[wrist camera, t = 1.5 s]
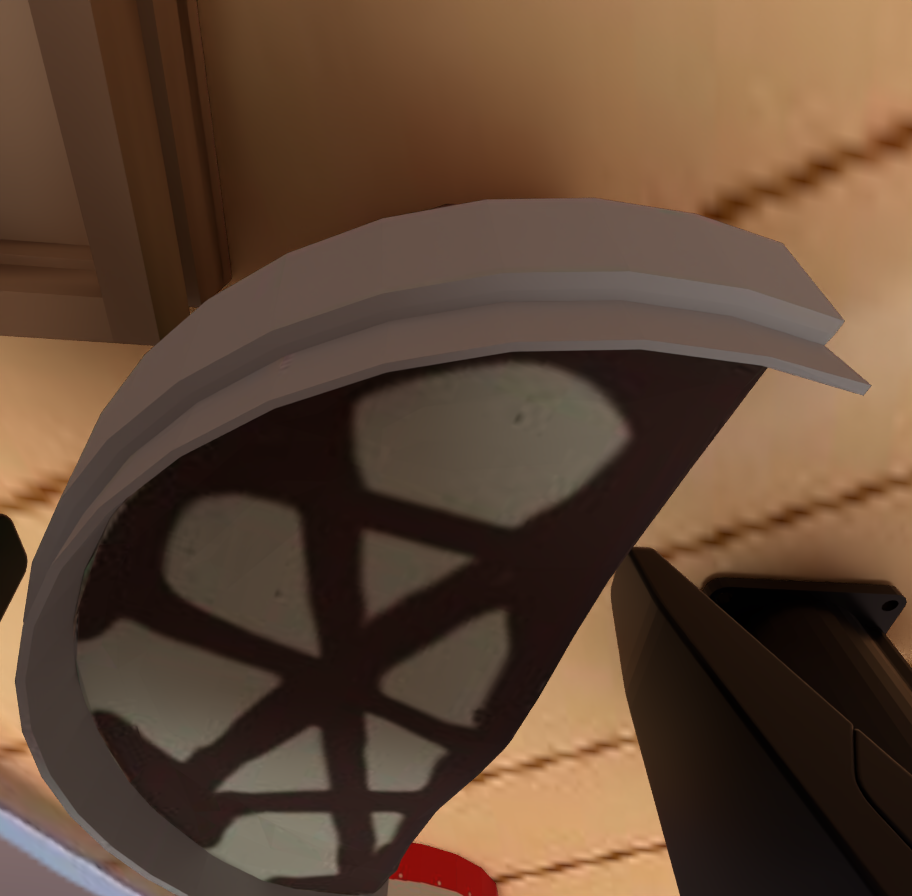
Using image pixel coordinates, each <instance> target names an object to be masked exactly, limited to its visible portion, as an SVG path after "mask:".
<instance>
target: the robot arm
mask: <svg viewBox="0 0 912 896" xmlns="http://www.w3.org/2000/svg"><path fill="white" fill-rule="evenodd" d="M26 568H27V555H26V552H25V550H24V547H23V545H22V543H21V540H20V538H19V535H18V533H17V531H16V528H15V526H14V524H13V522H12V520H11V519H10V518H9V517H8V516H7V515H4V514H0V621H1V619H2V618H3V616H4V614H5V612H6V610H7V608H8V606H9V604H10V602H11V600H12V598H13V596H14V594H15V592H16V590H17V588H18V586H19V584H20V582H21V580H22V578H23V576H24V574H25V572H26ZM721 593H722V594H721ZM611 603H612V610H613V616H614V623H615V630H616V636H617V643H618V649H619V656H620V662H621V669H622V675H623V681H624V687H625V692H626V697H627V701H628V705H629V709H630V713H631V717H632V720H633V724H634V728H635V732H636V735H637V739H638V743H639V746H640V750H641V754H642V757H643V761H644V765H645V768H646V772H647V776H648V779H649V783H650V787H651V790H652V794H653V798H654V801H655V805H656V809H657V812H658V816H659V820H660V823H661V827H662V831H663V835H664V838H665V842H666V846H667V849H668V853H669V857H670V860H671V864H672V868H673V871H674V875H675V879H676V882H677V886H678V890H679V893H680V896H912V668H911V667H910V665H909V664H908V663H907V661H906V660H905V659H904V658H903V656H902V655H901V654H900V653H899V651H898V650H897V649H896V647H895V646H894V645H893V644H892V642H891V641H890V640H889V639H888V637H887V636H886V635H885V634H886V633H887V631H888V630H889V628H890V627H891V626H892V624H893V623H894V621H895V620H896V618H897V617H898V616H899V614H900V613H901V611H902V610H903V608H904V607H905V605H906V603H907V601H906V598H905V597H904V596H903V595H902V593H901V592H900V591H899V590H898V589H897V588H896V587H894V586H889V585H868V584H847V583H827V582H806V581H785V580H764V579H744V578H717V579H714V580H712V581H710V582H709V583H708V584H707V585H706V586H705V588H704V590H703V592H702V591H701V590H700V589H699V588H697V587H696V586H695V585H694V584H693V583H692V582H691V581H689V580H688V579H687V578H686V577H685V576H684V575H683V574H682V573H680V572H679V571H678V570H677V569H676V568H675V567H674V566H672V565H671V564H670V563H669V562H668V561H667V560H666V559H664V558H663V557H662V556H661V555H660V554H659V553H658V552H657V551H655V550H654V549H652V548H648V547H633V548H632V549H631V550H630V552H629V553H628V555H627V556H626V557H625V559H624V560H623V561H622V563H621V564H620V565H619V567H618V568H617V569H616V572H615V576H614V579H613V582H612V586H611Z"/></svg>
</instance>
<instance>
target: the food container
mask: <svg viewBox="0 0 912 896" xmlns="http://www.w3.org/2000/svg"><path fill="white" fill-rule="evenodd" d="M843 323H844V319H843V318H842V317H841V316H840V314H839V313H838V312H837V311H836V309H835V308H834V307H833V306H832V304H831V303H830V302H829V301H828V299H827V298H826V297H825V296H824V294H823V293H822V292H821V291H820V289H819V288H818V287H817V286H816V284H815V283H814V282H813V281H812V279H811V278H810V277H809V276H808V274H807V273H806V272H805V271H804V269H803V268H802V267H801V266H800V264H799V263H798V262H797V261H796V259H795V258H794V257H793V256H792V254H791V253H790V252H789V251H788V249H787V248H786V247H785V246H784V244H783V243H780V242H778V241H775V240H772V239H769V238H766V237H763V236H760V235H757V234H754V233H751V232H748V231H745V230H742V229H739V228H736V227H733V226H730V225H727V224H724V223H721V222H719V221H716V220H713V219H710V218H707V217H704V216H701V215H698V214H694V213H688V212H681V211H675V210H668V209H662V208H656V207H649V206H643V205H636V204H630V203H624V202H617V201H611V200H604V199H598V198H547V199H486V200H481V201H475V202H470V203H464V204H445V205H442V206H439V207H436V208H433V209H430V210H426V211H420V212H415V213H409V214H404V215H399V216H393V217H388V218H382V219H379V220H377V221H374V222H371V223H368V224H366V225H363V226H360V227H358V228H355V229H352V230H349V231H347V232H344V233H341V234H338V235H336V236H333V237H330V238H327V239H325V240H322V241H319V242H317V243H314V244H311V245H308V246H306V247H303V248H300V249H297V250H295V251H292V252H289V253H287V254H285V255H283V256H282V257H280V258H278V259H276V260H275V261H273V262H271V263H270V264H268V265H266V266H264V267H263V268H261V269H259V270H258V271H256V272H254V273H252V274H251V275H249V276H247V277H246V278H244V279H242V280H240V281H239V282H237V283H235V284H234V285H232V286H230V287H228V288H227V289H225V290H223V291H222V292H220V293H218V294H216V295H215V296H213V297H211V298H210V299H208V300H207V301H205V302H204V303H203V304H202V305H201V306H200V307H199V308H197V309H196V310H195V311H194V312H193V313H192V314H191V315H189V316H188V317H187V318H186V319H185V320H184V321H183V322H181V323H180V324H179V325H178V326H177V327H176V328H175V329H173V330H172V331H171V332H170V333H169V334H168V335H167V336H165V337H164V338H163V339H162V340H161V341H160V342H159V343H157V344H156V345H155V346H154V347H153V348H152V349H151V350H149V351H148V352H147V353H146V354H145V355H144V356H143V358H142V359H141V360H140V362H139V363H138V364H137V366H136V367H135V368H134V370H133V371H132V372H131V374H130V375H129V376H128V378H127V379H126V380H125V382H124V383H123V384H122V386H121V387H120V388H119V390H118V391H117V393H116V394H115V395H114V397H113V398H112V399H111V401H110V402H109V403H108V405H107V406H106V407H105V409H104V410H103V411H102V413H101V414H100V417H99V419H98V421H97V423H96V425H95V427H94V429H93V431H92V433H91V435H90V438H89V440H88V442H87V444H86V446H85V448H84V450H83V452H82V454H81V456H80V459H79V461H78V463H77V465H76V467H75V469H74V471H73V473H72V475H71V477H70V479H69V482H68V484H67V486H66V488H65V490H64V492H63V494H62V496H61V498H60V500H59V503H58V505H57V507H56V509H55V512H54V514H53V516H52V518H51V521H50V523H49V525H48V527H47V530H46V532H45V534H44V536H43V539H42V541H41V543H40V546H39V548H38V550H37V552H36V555H35V557H34V559H33V561H32V566H31V573H30V579H29V586H28V592H27V599H26V605H25V612H24V618H23V622H24V625H23V629H22V636H21V642H20V649H19V656H18V663H17V670H16V677H15V686H16V693H17V700H18V707H19V714H20V720H21V727H22V733H23V735H24V737H25V740H26V742H27V744H28V747H29V749H30V751H31V753H32V756H33V758H34V760H35V763H36V765H37V767H38V770H39V772H40V774H41V777H42V778H43V779H44V781H45V782H46V784H47V785H48V786H49V788H50V789H51V790H52V792H53V793H54V795H55V796H56V797H57V799H58V800H59V801H60V803H61V804H62V806H63V807H64V808H65V810H66V811H67V812H68V814H69V815H70V816H71V817H72V818H73V819H74V820H75V821H76V822H77V823H78V824H79V825H80V826H81V827H82V828H83V829H84V830H85V831H86V832H87V833H88V834H90V835H91V836H92V837H93V838H94V839H95V840H96V841H97V842H98V843H99V844H100V845H101V846H102V847H103V848H104V849H105V850H107V851H108V852H109V853H111V854H112V855H114V856H115V857H116V858H118V859H119V860H121V861H122V862H124V863H125V864H126V865H128V866H129V867H131V868H132V869H133V870H135V871H136V872H138V873H139V874H140V875H142V876H143V877H145V878H146V879H148V880H150V881H152V882H154V883H156V884H157V885H159V886H161V887H163V888H165V889H167V890H168V891H170V892H172V893H174V894H176V895H178V896H387V894H388V884H389V877H390V876H391V875H393V874H394V873H395V872H396V871H397V870H398V867H399V864H400V862H401V859H402V858H403V856H404V854H405V853H406V851H407V850H408V848H409V846H410V845H411V843H412V842H413V841H414V839H415V838H416V837H417V836H418V834H419V833H420V832H421V830H422V829H423V828H424V827H425V825H426V824H427V823H428V821H429V820H430V819H431V818H432V816H433V815H434V814H435V812H436V811H437V810H438V809H439V808H440V807H442V806H443V805H444V804H445V803H446V802H447V801H449V800H450V799H451V798H452V797H453V796H454V795H456V794H457V793H458V792H459V791H460V790H461V789H462V788H464V787H465V786H466V785H467V784H468V783H469V782H471V781H472V780H473V779H474V778H475V777H476V776H478V775H479V774H480V773H481V772H482V771H483V770H484V769H485V768H486V767H487V766H488V765H489V764H490V763H491V762H492V761H493V760H494V759H495V758H496V757H497V756H498V755H499V754H500V753H501V752H502V751H503V750H504V749H505V747H506V746H507V745H508V744H509V743H510V741H511V740H512V739H513V737H514V735H515V734H516V732H517V730H518V729H519V727H520V726H521V724H522V723H523V721H524V720H525V718H526V717H527V715H528V713H529V712H530V710H531V709H532V707H533V706H534V704H535V703H536V701H537V699H538V698H539V696H540V694H541V693H542V691H543V689H544V688H545V686H546V684H547V682H548V681H549V679H550V677H551V675H552V674H553V672H554V670H555V668H556V667H557V665H558V663H559V661H560V660H561V658H562V656H563V654H564V653H565V651H566V649H567V647H568V646H569V644H570V642H571V640H572V639H573V637H574V635H575V634H576V632H577V630H578V629H579V627H580V626H581V624H582V622H583V621H584V619H585V618H586V616H587V614H588V613H589V611H590V610H591V608H592V606H593V605H594V603H595V602H596V600H597V598H598V597H599V595H600V593H601V592H602V590H603V589H604V587H605V585H606V584H607V582H608V581H609V579H610V578H611V576H612V575H613V574H614V572H615V571H616V569H617V568H618V567H619V565H620V564H621V563H622V561H623V560H624V559H625V557H626V556H627V555H628V553H629V552H630V550H631V549H632V548H633V546H634V545H635V544H636V542H637V541H638V540H639V538H640V537H641V536H642V534H643V533H644V531H645V530H646V529H647V527H648V526H649V525H650V523H651V522H652V521H653V519H654V518H655V517H656V515H657V514H658V513H659V511H660V510H661V508H662V507H663V506H664V504H665V503H666V502H667V500H668V499H669V498H670V496H671V495H672V494H673V492H674V491H675V489H676V488H677V487H678V485H679V484H680V483H681V481H682V480H683V479H684V477H685V476H686V475H687V473H688V472H689V471H690V469H691V468H692V466H693V465H694V464H695V462H696V461H697V460H698V458H699V457H700V456H701V455H702V453H703V452H704V451H705V449H706V448H707V447H708V445H709V444H710V443H711V441H712V440H713V439H714V437H715V436H716V435H717V433H718V432H719V431H720V430H721V428H722V427H723V426H724V424H725V423H726V422H727V420H728V419H729V418H730V416H731V415H732V414H733V412H734V411H735V410H736V408H737V407H738V406H739V405H740V403H741V402H742V401H743V399H744V398H745V397H746V395H747V394H748V393H749V391H750V390H751V389H752V387H753V386H754V385H755V383H756V382H757V381H758V379H759V378H760V377H761V376H762V374H763V373H764V372H765V370H766V369H767V368H768V367H769V368H772V369H775V370H779V371H782V372H785V373H789V374H792V375H796V376H799V377H802V378H806V379H809V380H813V381H816V382H819V383H823V384H826V385H829V386H833V387H836V388H840V389H843V390H846V391H850V392H853V393H857V394H860V395H863V396H864V394H865V393H866V392H867V391H868V389H869V388H870V387H871V386H872V385H870V384H869V383H868V382H867V381H866V380H864V379H863V378H862V377H861V376H860V375H859V374H857V373H856V372H855V371H854V370H853V369H851V368H850V367H849V366H848V365H847V364H845V363H844V362H843V361H842V360H841V359H840V358H838V357H837V356H836V355H835V354H834V353H832V352H831V351H830V350H829V349H828V348H827V347H825V346H824V345H825V344H826V343H827V342H828V341H829V340H830V339H831V338H832V337H833V336H834V335H835V333H836V332H837V331H838V329H839V328H840V327H841V325H842V324H843Z"/></svg>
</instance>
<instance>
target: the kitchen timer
mask: <svg viewBox="0 0 912 896" xmlns="http://www.w3.org/2000/svg"><path fill="white" fill-rule="evenodd" d="M387 896H498V892H497V887H496V883H495V882H494V881H493V880H492V879H491V878H490V877H489V876H488V875H487V874H486V873H485V871H484V870H483V869H482V868H481V867H479V866H477V865H475V864H473V863H471V862H469V861H468V860H466V859H464V858H462V857H460V856H458V855H456V854H453V853H450V852H447V851H443V850H440V849H436V848H433V847H430V846H426V845H423V844H416V843H411V845H410V846H409V848H408V850H407V851H406V853H405V854H404V856H403V858H402V859H401V862H400V864H399V867H398V870H397V871H396V872H395V873H394V874H393V875H391V876H390V877H389V884H388V894H387Z"/></svg>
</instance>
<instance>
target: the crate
mask: <svg viewBox="0 0 912 896" xmlns="http://www.w3.org/2000/svg"><path fill="white" fill-rule="evenodd" d="M231 279H232V274H231V266H230V259H229V251H228V243H227V235H226V227H225V219H224V212H223V204H222V196H221V188H220V180H219V172H218V165H217V157H216V149H215V141H214V133H213V126H212V118H211V110H210V102H209V94H208V86H207V79H206V71H205V63H204V55H203V47H202V40H201V32H200V24H199V16H198V8H197V0H0V335H1V336H16V337H31V338H47V339H62V340H77V341H92V342H107V343H123V344H138V345H153V346H155V345H156V344H157V343H159V342H160V341H161V340H162V339H163V338H164V337H165V336H167V335H168V334H169V333H170V332H171V331H172V330H173V329H175V328H176V327H177V326H178V325H179V324H180V323H181V322H183V321H184V320H185V319H186V318H187V317H188V316H189V315H190V311H189V307H200V306H201V305H202V304H203V303H204V302H205V301H207V300H208V299H210V298H211V297H213V296H214V295H215V294H217V293H218V292H219V291H220V290H221V289H222V288H223V287H224V286H225V285H226V284H227V283H228V282H229V281H230V280H231Z"/></svg>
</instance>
